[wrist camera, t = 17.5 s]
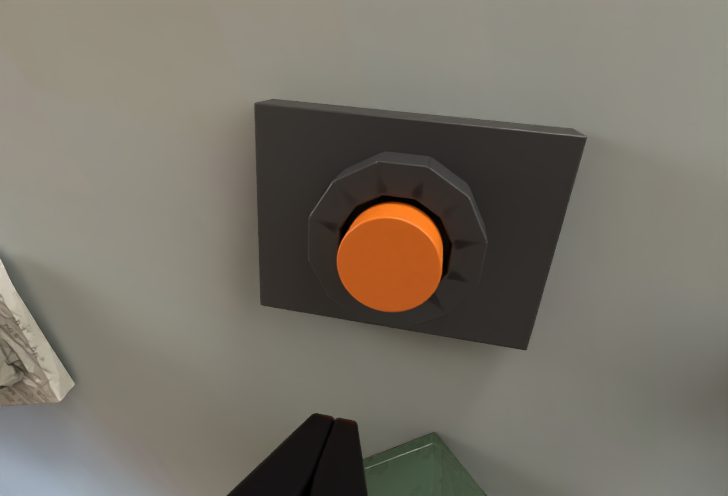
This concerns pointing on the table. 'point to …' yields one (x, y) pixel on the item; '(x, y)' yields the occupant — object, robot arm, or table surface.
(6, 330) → the packaged product
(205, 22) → the table surface
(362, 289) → the button
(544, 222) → the pad
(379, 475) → the dark green boxy piece
